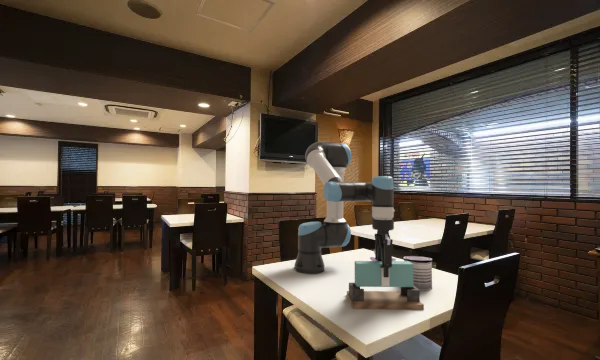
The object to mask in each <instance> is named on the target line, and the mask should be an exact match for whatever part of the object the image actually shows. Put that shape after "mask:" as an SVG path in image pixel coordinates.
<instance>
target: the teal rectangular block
mask: <svg viewBox="0 0 600 360" xmlns="http://www.w3.org/2000/svg"><path fill="white" fill-rule="evenodd" d="M380 266H382V261H372V260H354V283H355V284H356V286H357V287H360V288H361V287H362V288H401V287H413V264H412V263H411V262H409V261H404V260H395V261H392V267H390V268H389V286H381V268H380Z"/></svg>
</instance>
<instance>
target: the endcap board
mask: <svg viewBox="0 0 600 360" xmlns="http://www.w3.org/2000/svg"><path fill="white" fill-rule="evenodd" d="M420 291H421V290H419V289H418V288H416V287H415V286H414V285H413V287H400V290H398V291H397V290H396V291H394V290H393V291H390V290H389V291H388V290H387V291H386V290H382V291H381V290H380V291H379V290H374V291H373V290H372V291H371V290H365V289H364V288H361V287H357V286H356V284H355V282H348V290H346V296H347V299H348V301H349V303H350V305H351V307H352V309H355V310H357V309H358V310H424V309H425V307H424V306H425V305H424V303H422V302H421V300H420V299H421V297H420V293H421V292H420Z"/></svg>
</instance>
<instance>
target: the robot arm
mask: <svg viewBox="0 0 600 360" xmlns="http://www.w3.org/2000/svg"><path fill="white" fill-rule="evenodd" d="M304 157H305V158H304V159H305V161H306V163H307V165H308V166H309V167H310V168H312V169H313V170H314V173H316V175H317V177H318V178H319V180H320V181H321V183H322V184H323V189H322V191H323V192H322V193H323V198H324V199H325V201H326V217H325V219H324V220H323V223H322V222H321V221H309V222H303V223H301V224H299V226H298V233H297V242H298V243H297V250H298V251H297V252H298V253H297V255H296V259H295V262H294V271H296V272H298V273H302V274H319V273H322V272H325V261H324V259H323V256H322V249H324V248H340V247H345V246H347V245H348V244H349V243H350V240H351V235H352V231H351V230H352V229H351V227H350V226H349V224H348V223H347V220H346V219H345V218H344V202H371V203H372V204H371V217H372V220H371V225H372V226H371V228H372V230H376V233H374V247H375V249H374V250H375V253H374V255H375V256H374V258H375V259H376V260H377V261H382V266H380V268H381V286H389V268H390V267H392V258H393V239H392V238H391V235H390V231H393V230H394V229H395V221H394V217H395V216H394V215H395V212H396V210H395V209H394V205H395V203H394V199H395V198H394V195H395V193H394V192H395V191H394V190H395V186H394V178H393V177H392V176H387V175H385V176H384V175H382V176H381V175H380V176H377V175H376V176H373V177H372V179H371V181H370V182H365V181H364V182H361V181H359V182H358V181H357V182H356V181H355V182H353V181H345V180H344V177H345V175H344V172H345V171H346V170H347V166H349V165H351V162H352V151H351V149H350V147H349V145H347V144H346V143H341V142H330V141H329V142H328V141H327V142H325V141H316V142H314V143H312V144H310V145H309V146H308V147H307V149H306V151H305V154H304Z"/></svg>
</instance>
